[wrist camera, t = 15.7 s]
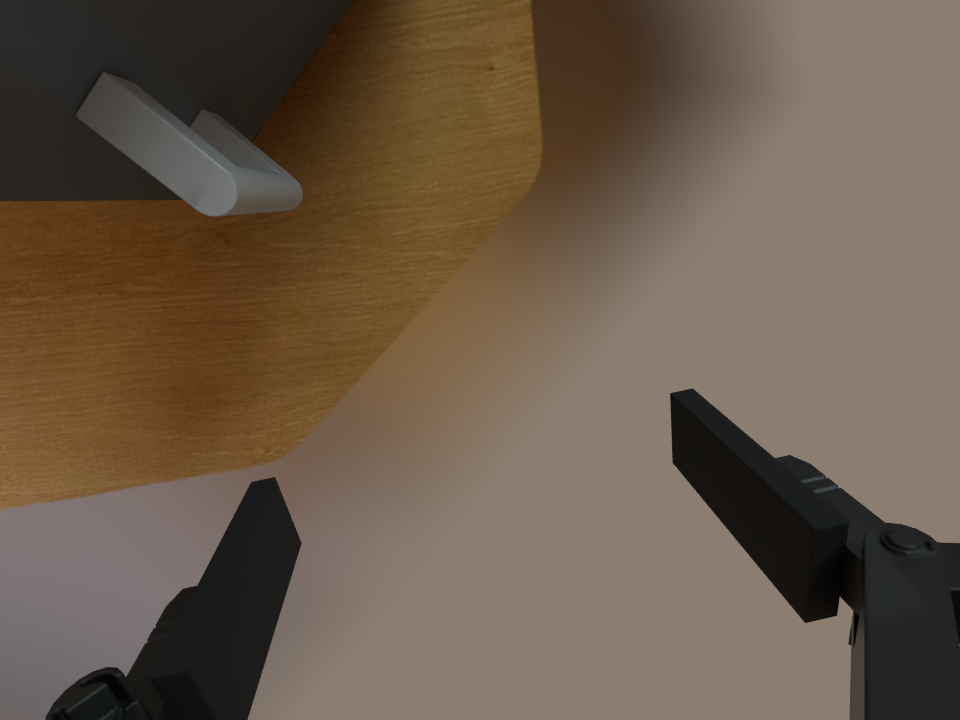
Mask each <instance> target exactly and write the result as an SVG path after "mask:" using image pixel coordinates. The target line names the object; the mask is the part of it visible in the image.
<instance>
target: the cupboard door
mask: <svg viewBox="0 0 960 720" xmlns="http://www.w3.org/2000/svg"><path fill="white" fill-rule="evenodd" d="M352 1H353V0H0V201H99V200H184V201H186V202H187V203H188V204H189V205H191V206H192V207H193V208H194V209H195V210H197V211H198V212H200V213H202V214H204V215H207V216H211V217H219V216H231V215H243V214H255V213H267V212H279V211H290V210H293V209H295V208H296V207H298V206H299V204H300V203H301V201H302V196H303V193H302V188H301V186H300V184H299V182H298V181H297V180H296V179H295V178H293V177H292V176H291V175H290V174H289V173H287V172H286V171H285V170H284V169H283V168H282V167H280V166H279V165H278V164H277V163H276V162H274V161H273V160H272V159H271V158H270V157H268V156H267V155H266V154H265V153H264V152H262V151H261V150H260V149H259V148H258V147H256V146H255V145H254V144H253V143H252V142H251V141H252V140H253V139H254V137H255V136H256V135H257V133H258V132H259V130H260V129H261V128H262V126H263V125H264V123H265V122H266V121H267V119H268V118H269V116H270V115H271V114H272V112H273V111H274V110H275V108H276V107H277V105H278V104H279V103H280V101H281V100H282V98H283V97H284V96H285V94H286V93H287V91H288V90H289V89H290V87H291V86H292V85H293V83H294V82H295V80H296V79H297V78H298V76H299V75H300V73H301V72H302V71H303V69H304V68H305V66H306V65H307V64H308V62H309V61H310V60H311V58H312V57H313V55H314V54H315V53H316V51H317V50H318V48H319V47H320V46H321V44H322V43H323V41H324V40H325V39H326V37H327V36H328V34H329V33H330V32H331V30H332V29H333V28H334V26H335V25H336V23H337V22H338V21H339V19H340V18H341V16H342V15H343V14H344V12H345V11H346V9H347V8H348V7H349V5H350V4H351V3H352Z"/></svg>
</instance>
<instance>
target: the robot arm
mask: <svg viewBox="0 0 960 720" xmlns="http://www.w3.org/2000/svg"><path fill="white" fill-rule="evenodd" d="M670 400H671V426H672V427H671V428H672V457H673V464H674V465H675V466H676V467H677V469H678V470H679V471H680V472H681V473H682V474H683V476H684V477H685V478H686V479H687V481H688V482H689V483H690V484H691V485H692V487H693V488H694V489H695V490H696V491H697V493H698V494H699V495H700V496H701V498H702V499H703V500H704V501H705V502H706V503H707V505H708V506H709V507H710V508H711V510H712V511H713V512H714V513H715V514H716V516H717V517H718V518H719V519H720V521H721V522H722V523H723V524H724V525H725V526H726V528H727V529H728V530H729V531H730V533H731V534H732V535H733V536H734V537H735V539H736V540H737V541H738V542H739V543H740V545H741V546H742V547H743V548H744V549H745V551H746V552H747V553H748V554H749V556H750V557H751V558H752V559H753V560H754V562H755V563H756V564H757V565H758V566H759V568H760V569H761V570H762V571H763V573H764V574H765V575H766V576H767V577H768V579H769V580H770V581H771V582H772V583H773V585H774V586H775V587H776V588H777V589H778V591H779V592H780V593H781V594H782V595H783V597H784V598H785V599H786V600H787V601H788V603H789V604H790V605H791V606H792V608H793V609H794V610H795V611H796V612H797V614H798V615H799V616H800V617H801V618H802V620H803V621H804V622H805V623H807V622H812V621H816V620H820V619H825V618H829V617H833V616H837V612H838V605H839V597H841V598H842V599H843V600H844V601H845V602H846V603H847V604H848V605H849V606H850V607H851V608H852V609H853V617H852V624H851V630H850V637H849V645H851V684H850V720H960V645H959V644H960V543H939V542H936V541H935V540H934V539H933V538H932V537H930V536H929V535H927V534H925V533H923V532H921V531H919V530H918V529H915V528H912V527H908V526H905V525H902V524H893V523H885V522H884V521H882V520H881V519H880V518H879V517H877V516H876V515H875V514H873V513H872V512H871V511H869V510H868V509H867V508H866V507H865V506H863V505H862V504H861V503H859V502H858V501H857V500H856V499H854V498H853V497H852V496H850V495H849V494H848V493H847V492H845V491H844V490H843V489H842V488H838V485H836V484H835V483H834V482H833V481H831V480H830V479H829V478H826V476H825V475H824V474H823V473H821V472H820V471H818V470H817V469H816V468H815V467H813V466H812V465H811V464H809V463H807V462H805V461H802V460H800V459H798V458H795V457H793V456H791V455H788V456H784V457H779V458H774V457H773V456H772V455H770V454H769V453H768V452H767V451H765V450H764V449H763V448H762V447H761V446H760V445H758V444H757V443H756V442H755V441H754V440H753V439H751V438H750V437H749V436H748V435H747V434H746V433H744V432H743V431H742V430H741V429H740V428H738V427H737V426H736V425H735V424H734V423H733V422H731V421H730V420H729V419H728V418H727V417H726V416H724V415H723V414H722V413H721V412H720V411H719V410H717V409H716V408H715V407H714V406H712V405H711V404H710V403H709V402H708V401H707V400H706V399H704V398H703V397H702V396H701V395H700V394H699V393H697V392H696V391H695V390H694V389H688V390H684V391H679V392H674V393H670ZM300 547H301V541H300V538H299V536H298V533H297V531H296V528H295V526H294V523H293V521H292V518H291V516H290V513H289V511H288V508H287V506H286V503H285V501H284V498H283V496H282V493H281V491H280V488H279V486H278V483H277V481H276V478H275V477H273V478H269V479H264V480H259V481H254V482H251V484H250V486H249V488H248V490H247V491H246V493H245V495H244V497H243V499H242V501H241V503H240V505H239V507H238V509H237V511H236V513H235V514H234V517H233V519H232V520H231V522H230V524H229V526H228V528H227V530H226V532H225V534H224V536H223V538H222V540H221V542H220V543H219V545H218V547H217V549H216V551H215V553H214V555H213V557H212V559H211V561H210V563H209V564H208V566H207V568H206V570H205V572H204V574H203V576H202V578H201V580H200V582H199V584H198V586H194V587H189V588H185V589H183V590H181V591H180V593H179V594H178V595H177V596H176V597H175V598H174V599H173V600H172V601H171V602H170V603H169V604H168V605H167V606H166V608H165V609H164V611H163V613H162V615H161V617H160V618H159V620H158V622H157V624H156V628H154V629H153V631H152V632H151V634H150V636H149V638H148V643H145V645H144V647H143V649H142V650H141V652H140V654H139V655H138V657H137V659H136V661H135V662H134V664H133V666H132V668H131V670H130V671H129V673H128V675H127V677H125V675H124V674H123V673H122V672H121V671H120V670H119V669H118V668H113V667H106V668H103V669H100V670H96V671H94V672H92V673H90V674H88V675H87V676H85V677H83V678H81V679H79V680H78V681H77V682H76V683H75V684H73V685H72V686H70V687H69V688H68V689H67V690H65V691H64V692H63V694H62V695H61V696H60V697H59V698H58V699H57V700H56V701H55V702H54V704H53V705H52V707H51V709H50V711H49V712H48V714H47V716H46V720H247V719H248V716H249V713H250V709H251V706H252V703H253V700H254V696H255V693H256V690H257V687H258V683H259V680H260V677H261V674H262V670H263V667H264V664H265V661H266V657H267V654H268V650H269V648H270V644H271V641H272V637H273V634H274V631H275V628H276V625H277V622H278V618H279V615H280V612H281V609H282V605H283V602H284V599H285V595H286V592H287V589H288V586H289V582H290V579H291V576H292V573H293V569H294V566H295V562H296V560H297V556H298V553H299V550H300Z"/></svg>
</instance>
